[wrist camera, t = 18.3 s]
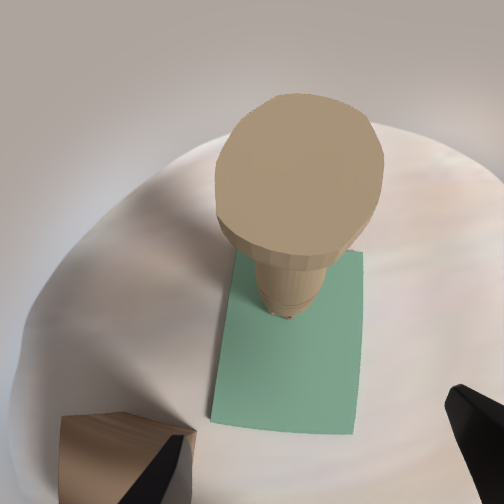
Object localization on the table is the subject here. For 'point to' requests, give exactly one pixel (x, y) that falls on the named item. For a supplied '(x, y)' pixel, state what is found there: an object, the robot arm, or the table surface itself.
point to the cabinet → (108, 454)
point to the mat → (292, 355)
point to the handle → (297, 192)
